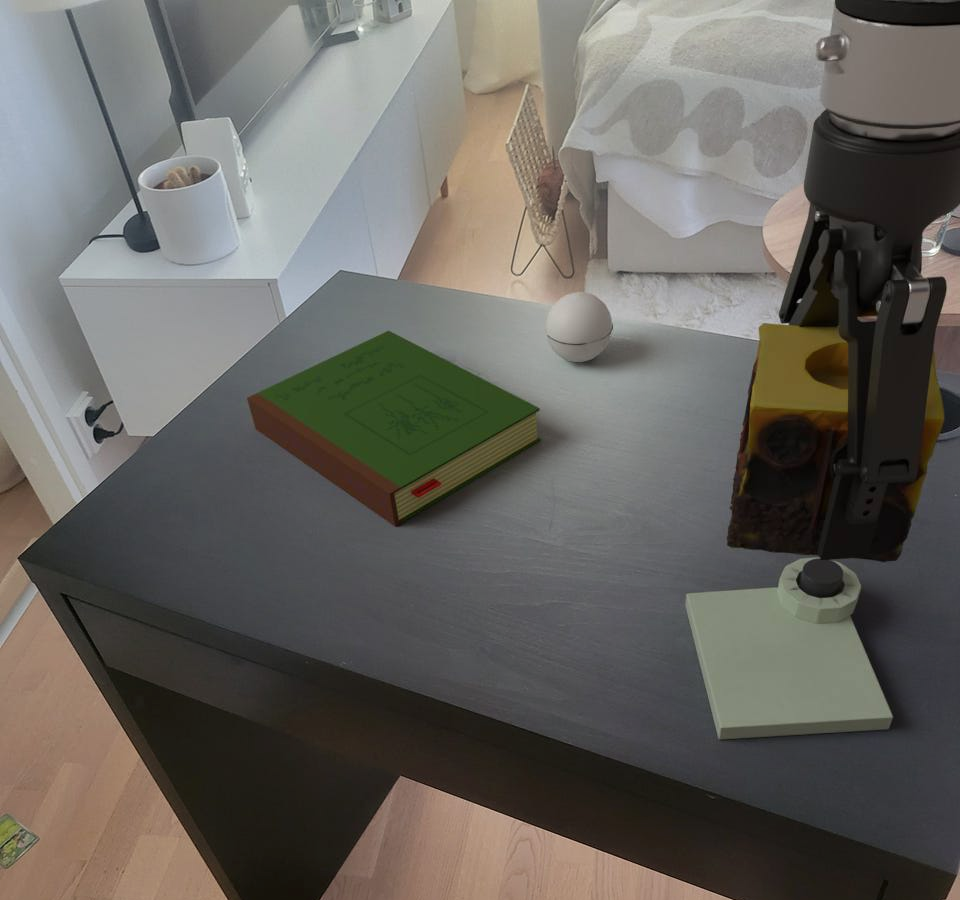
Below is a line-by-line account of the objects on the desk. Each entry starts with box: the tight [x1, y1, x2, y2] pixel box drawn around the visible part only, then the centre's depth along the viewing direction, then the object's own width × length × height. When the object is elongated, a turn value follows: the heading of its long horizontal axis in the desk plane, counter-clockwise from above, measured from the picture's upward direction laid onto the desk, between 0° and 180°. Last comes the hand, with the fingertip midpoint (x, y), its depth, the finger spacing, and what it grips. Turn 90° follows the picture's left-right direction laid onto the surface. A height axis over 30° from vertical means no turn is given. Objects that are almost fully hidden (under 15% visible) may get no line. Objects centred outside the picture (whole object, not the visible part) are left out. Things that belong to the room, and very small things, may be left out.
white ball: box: [544, 291, 632, 363], centre depth 103 cm, size 10×7×7 cm
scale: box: [684, 556, 894, 740], centre depth 72 cm, size 13×15×3 cm
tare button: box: [799, 558, 843, 598], centre depth 74 cm, size 3×3×2 cm
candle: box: [726, 322, 945, 563], centre depth 57 cm, size 10×10×10 cm
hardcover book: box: [246, 330, 542, 527], centre depth 97 cm, size 25×19×4 cm
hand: (815, 494), depth 60 cm, fingers closed on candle, 11 cm apart
